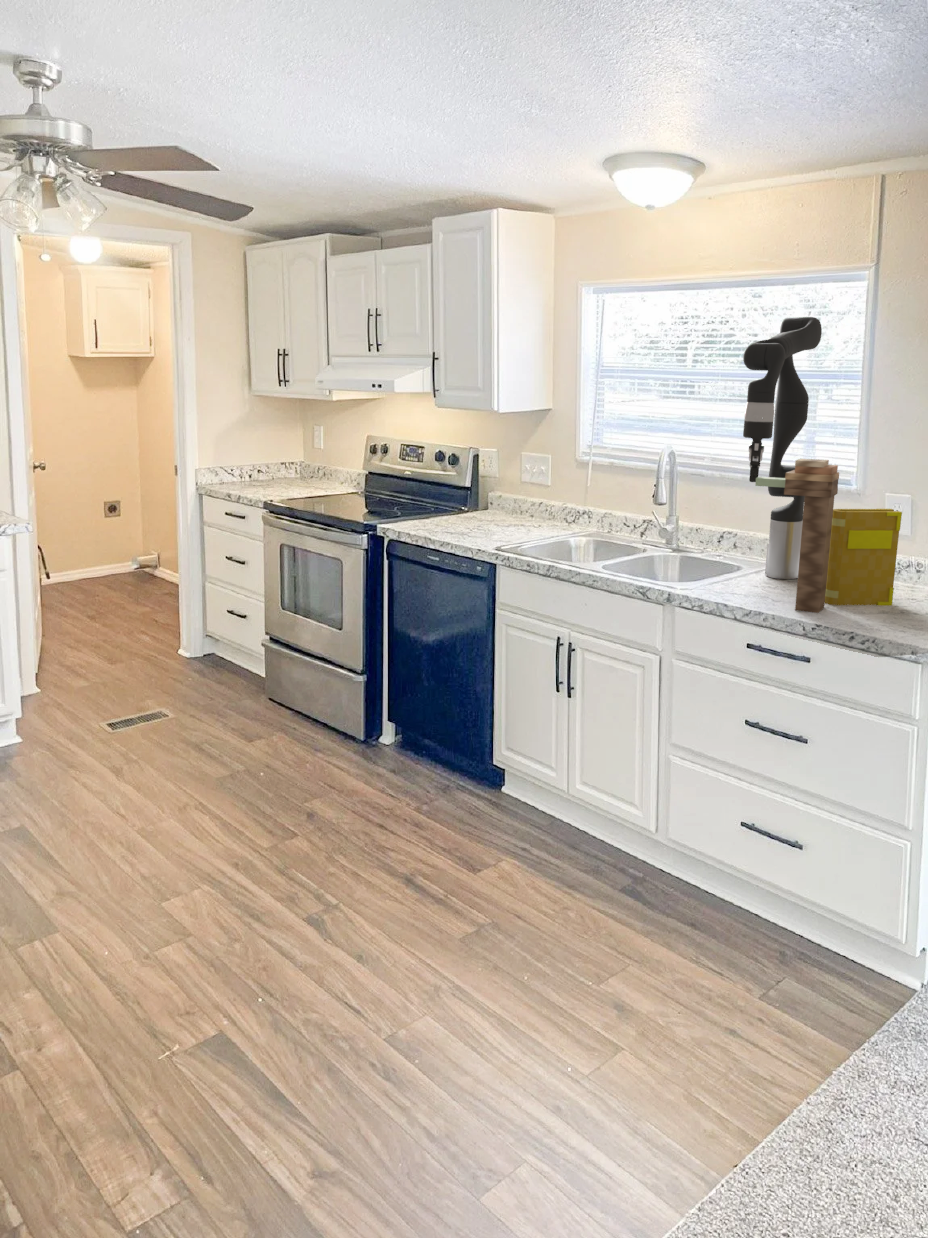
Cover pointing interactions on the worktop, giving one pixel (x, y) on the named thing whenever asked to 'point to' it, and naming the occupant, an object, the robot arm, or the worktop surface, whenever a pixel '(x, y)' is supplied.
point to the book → (862, 556)
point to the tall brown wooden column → (813, 527)
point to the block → (770, 482)
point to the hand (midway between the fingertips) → (753, 480)
